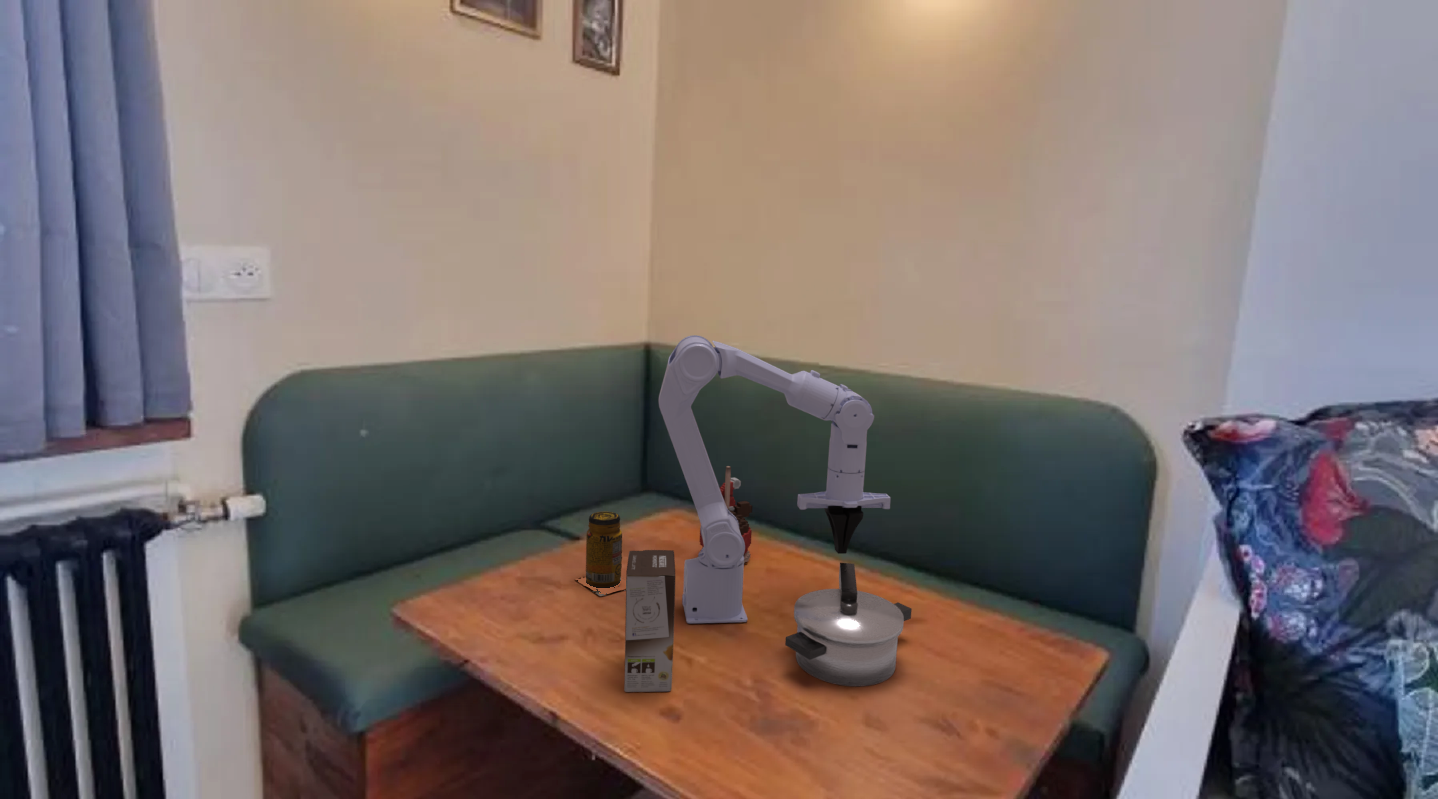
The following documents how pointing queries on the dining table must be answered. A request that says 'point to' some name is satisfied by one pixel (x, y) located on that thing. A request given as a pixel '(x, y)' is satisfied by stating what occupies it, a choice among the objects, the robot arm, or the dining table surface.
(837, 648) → the cooker pot
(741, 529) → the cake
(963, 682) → the dining table surface
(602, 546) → the condiment
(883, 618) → the lid
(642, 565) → the coffee box
